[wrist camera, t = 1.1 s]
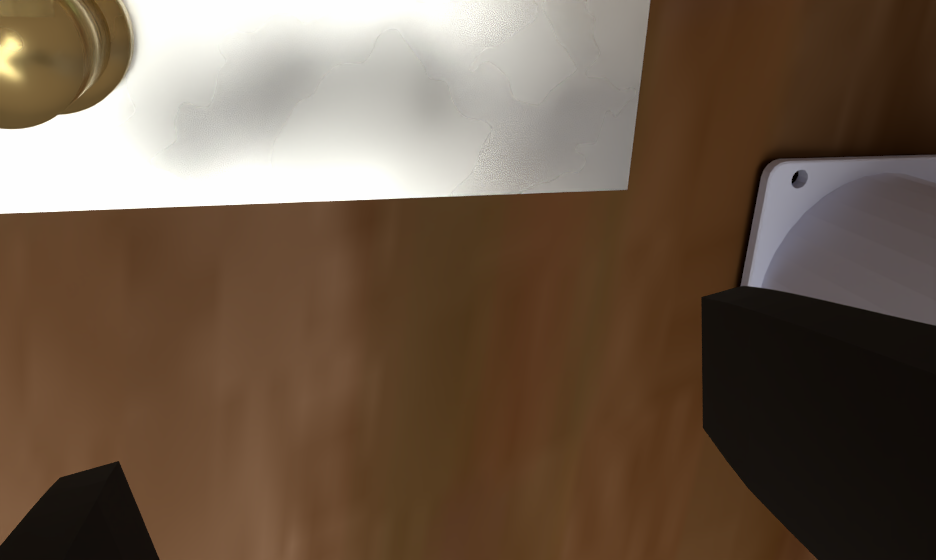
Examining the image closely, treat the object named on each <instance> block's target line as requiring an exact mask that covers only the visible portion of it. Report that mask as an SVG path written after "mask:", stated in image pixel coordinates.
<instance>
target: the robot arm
mask: <svg viewBox="0 0 936 560" xmlns="http://www.w3.org/2000/svg"><path fill="white" fill-rule="evenodd" d="M797 171H798V177H797V179H796V181H795V182H794V183H793V184H792V177H793V175H794V174H795V173H796V172H797ZM702 383H703V428H704V430H705V431H706V433H707V434H708V435H709V437H710V438H711V440H712V441H713V442H714V444H715V445H716V446H717V448H718V449H719V451H720V452H721V453H722V455H723V456H724V458H725V459H726V460H727V462H728V463H729V464H730V466H731V467H732V468H733V469H734V471H735V472H736V473H737V474H738V476H739V477H740V478H741V480H742V481H743V482H744V483H745V485H746V486H747V487H748V488H749V490H750V491H751V492H752V493H753V494H754V495H755V496H756V497H757V498H758V499H759V500H760V501H761V502H762V503H763V504H764V505H765V506H766V507H767V508H768V509H769V510H770V511H771V512H772V513H773V515H774V516H775V517H776V518H777V519H778V520H779V521H780V522H781V523H782V524H783V525H784V526H785V527H786V528H787V529H788V530H789V531H790V532H791V533H792V534H793V535H794V536H795V537H796V538H797V539H798V540H799V541H800V542H801V543H802V544H803V545H804V546H805V547H806V548H807V549H808V550H809V551H810V552H811V553H812V554H813V555H814V556H815V557H816V558H817V559H818V560H936V155H902V156H865V157H828V158H792V159H777V160H773V161H772V162H771V163H769V164H768V165H767V166H766V168H765V169H764V170H763V173H762V176H761V180H760V185H759V190H758V196H757V201H756V206H755V212H754V217H753V222H752V228H751V233H750V238H749V244H748V249H747V254H746V260H745V265H744V270H743V276H742V281H741V286H740V287H736V288H733V289H729V290H726V291H722V292H719V293H715V294H711V295H708V296H704V297H702ZM0 560H159V557H158V555H157V553H156V550H155V548H154V545H153V543H152V540H151V538H150V536H149V533H148V531H147V528H146V526H145V523H144V521H143V519H142V516H141V514H140V511H139V509H138V506H137V504H136V502H135V499H134V497H133V494H132V492H131V490H130V487H129V485H128V482H127V480H126V477H125V475H124V473H123V470H122V468H121V465H120V463H119V461H118V462H114V463H110V464H107V465H103V466H100V467H96V468H93V469H89V470H86V471H82V472H78V473H75V474H71V475H68V476H64V477H61V478H59V479H58V480H57V481H56V482H55V483H54V484H53V485H52V486H51V487H50V489H49V490H48V491H47V492H46V493H45V494H44V495H43V496H42V497H41V498H40V500H39V501H38V502H37V503H36V504H35V505H34V507H33V508H32V509H31V510H30V511H29V512H28V514H27V515H26V516H25V517H24V518H23V519H22V521H21V522H20V523H19V524H18V525H17V527H16V528H15V529H14V530H13V531H12V532H11V534H10V535H9V536H8V537H7V538H6V540H5V541H4V542H3V543H2V544H1V546H0Z"/></svg>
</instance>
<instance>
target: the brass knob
mask: <svg viewBox="0 0 936 560" xmlns="http://www.w3.org/2000/svg"><path fill="white" fill-rule="evenodd" d="M133 52H134V32H133V27H132V22H131V19H130V16H129V13H128V11H127V9H126V7H125V5H124V3H123V1H122V0H0V129H24V128H29V127H34V126H37V125H40V124H43V123H45V122H47V121H49V120H51V119H53V118H54V117H56V116H57V115H65V114H71V113H76V112H80V111H83V110H86V109H88V108H90V107H92V106H94V105H96V104H98V103H99V102H101V101H102V100H104V99H105V98H106V97H107V96H108V95H109V94H110V93H111V92H112V91H113V90H114V89H115V88H116V87H117V86H118V85H119V83H120V82H121V81H122V80H123V78H124V76H125V75H126V73H127V71H128V69H129V67H130V64H131V61H132V57H133Z"/></svg>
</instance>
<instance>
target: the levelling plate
mask: <svg viewBox="0 0 936 560" xmlns="http://www.w3.org/2000/svg"><path fill="white" fill-rule="evenodd" d="M122 1H123V3H124V5H125V7H126V9H127V11H128V13H129V16H130V19H131V22H132V27H133V32H134V52H133V57H132V61H131V64H130V67H129V69H128V71H127V73H126V75H125V76H124V78H123V80H122V81H121V82H120V83H119V85H118V86H117V87H116V88H115V89H114V90H113V91H112V92H111V93H110V94H109V95H108V96H107V97H106V98H105V99H104V100H102V101H101V102H99V103H98V104H96V105H94V106H92V107H90V108H88V109H86V110H83V111H80V112H76V113H71V114H65V115H57V116H56V117H54V118H53V119H51V120H49V121H47V122H45V123H43V124H40V125H37V126H34V127H29V128H24V129H0V213H25V212H52V211H78V210H104V209H131V208H157V207H184V206H210V205H236V204H263V203H289V202H315V201H342V200H368V199H394V198H421V197H447V196H473V195H500V194H526V193H552V192H579V191H605V190H627V188H628V180H629V171H630V163H631V155H632V147H633V139H634V130H635V122H636V114H637V106H638V98H639V89H640V81H641V73H642V65H643V57H644V48H645V40H646V32H647V24H648V16H649V7H650V0H122Z"/></svg>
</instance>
